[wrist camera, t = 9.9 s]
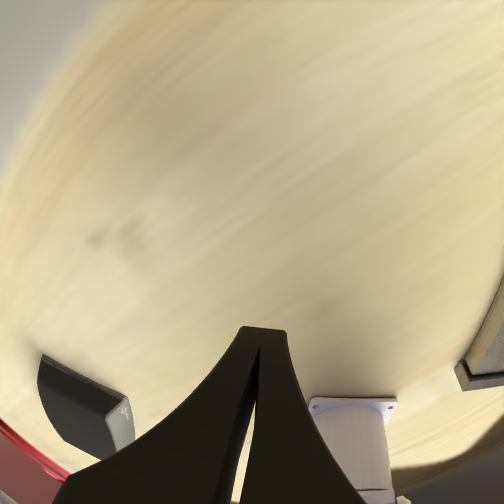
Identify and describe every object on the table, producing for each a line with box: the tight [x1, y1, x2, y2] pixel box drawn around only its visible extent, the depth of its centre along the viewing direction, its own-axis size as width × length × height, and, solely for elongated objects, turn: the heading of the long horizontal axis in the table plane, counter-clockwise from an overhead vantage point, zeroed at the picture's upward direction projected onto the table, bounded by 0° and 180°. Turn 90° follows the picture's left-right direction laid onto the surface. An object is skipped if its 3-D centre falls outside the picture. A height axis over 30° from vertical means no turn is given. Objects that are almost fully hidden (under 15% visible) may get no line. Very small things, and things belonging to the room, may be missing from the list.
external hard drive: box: [37, 354, 135, 460], centre depth 31 cm, size 13×19×4 cm
